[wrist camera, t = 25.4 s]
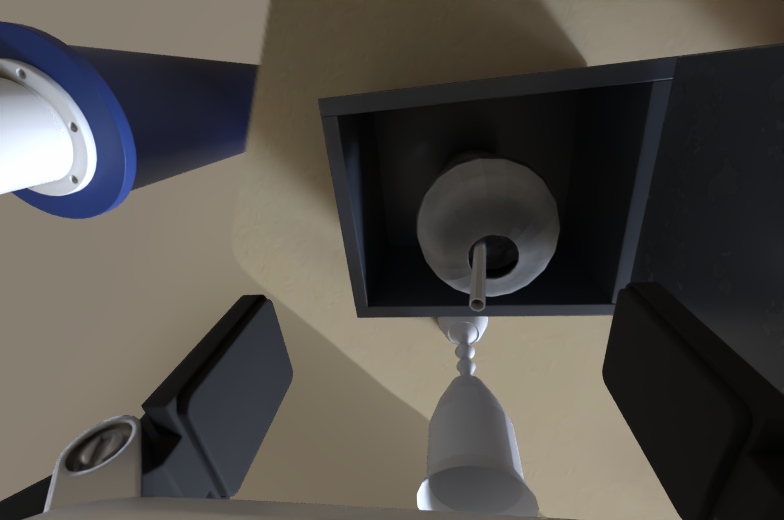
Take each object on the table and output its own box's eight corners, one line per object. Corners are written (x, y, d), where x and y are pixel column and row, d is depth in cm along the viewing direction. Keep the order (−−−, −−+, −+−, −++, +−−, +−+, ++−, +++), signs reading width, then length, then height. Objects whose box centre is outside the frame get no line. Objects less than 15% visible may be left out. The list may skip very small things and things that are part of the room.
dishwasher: (382, 251, 34) (357, 318, 24) (361, 93, 28) (317, 98, 18) (569, 243, 31) (624, 315, 21) (590, 66, 25) (680, 55, 15)
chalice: (499, 345, 37) (540, 545, 21) (434, 350, 38) (427, 540, 22) (493, 286, 34) (536, 465, 18) (423, 293, 35) (406, 465, 19)
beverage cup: (484, 231, 31) (538, 433, 13) (410, 193, 30) (359, 349, 12) (536, 155, 27) (703, 286, 10) (454, 110, 27) (471, 161, 9)
